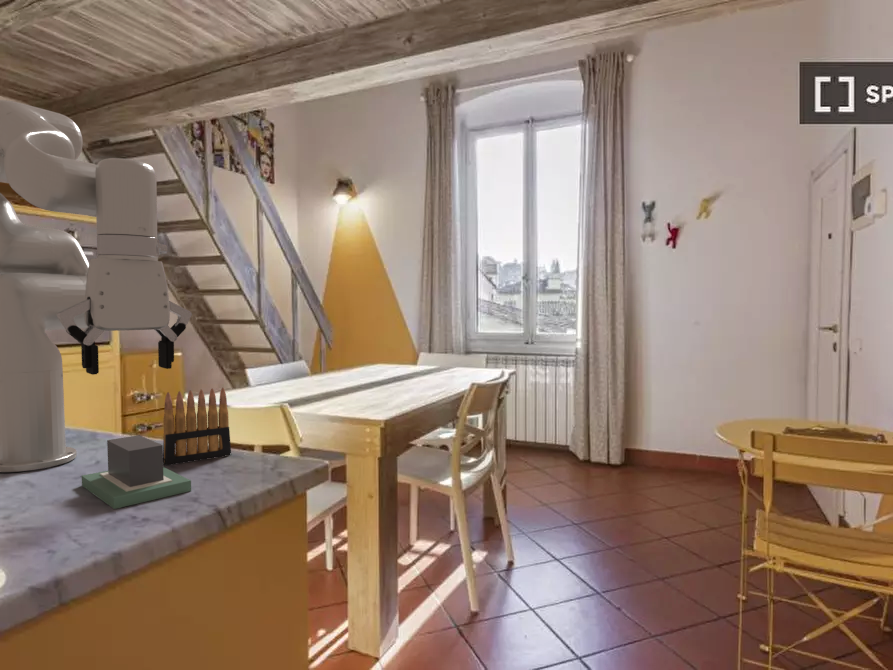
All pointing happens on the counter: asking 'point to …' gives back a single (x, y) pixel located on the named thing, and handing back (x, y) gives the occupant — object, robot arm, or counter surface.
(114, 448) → the block
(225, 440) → the ammunition clip
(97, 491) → the header board
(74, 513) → the counter surface
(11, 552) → the counter surface
